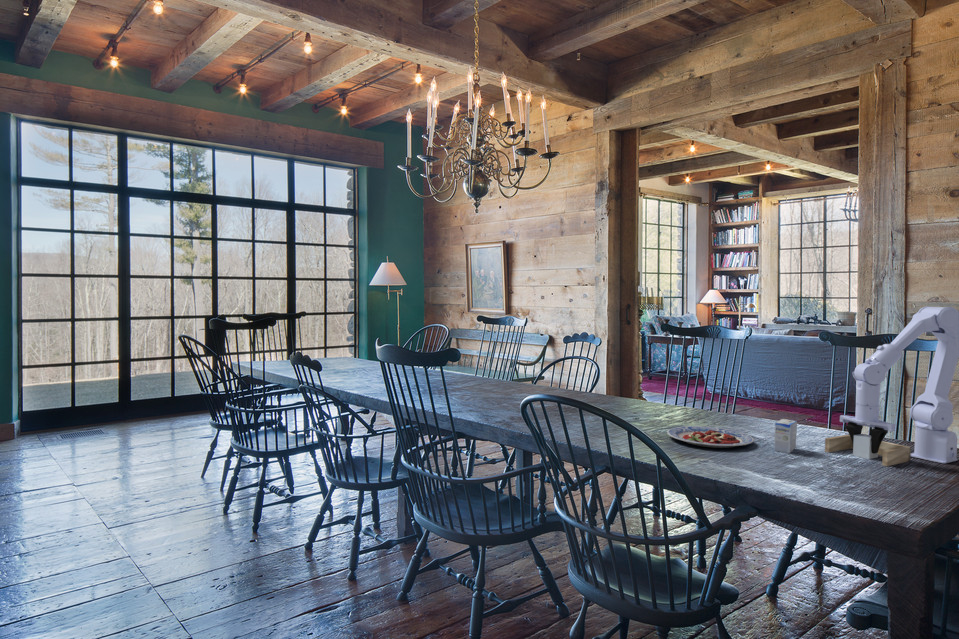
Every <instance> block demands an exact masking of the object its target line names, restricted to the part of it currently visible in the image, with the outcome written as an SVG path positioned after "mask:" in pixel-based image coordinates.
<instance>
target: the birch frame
mask: <svg viewBox="0 0 959 639" xmlns="http://www.w3.org/2000/svg"><path fill="white" fill-rule="evenodd" d="M849 449H851V450H853V444H852V440H851V437H850V435H849V433H848V434H845V435H837V436H831V437H826V438H824V452H826V453H834V452H837V451H844V450H849ZM911 451H912V447H911V446H909V445H907V446H906V445H903V444H898V443H892V442H888V441H885V440H884V441H883V440H882V442H881V444H880V447H879V450H878V456H882V458H881V459H882V460H881V461H882V463H881V466H885V467H889V466H893V465H898V464H903V463H908V462H911Z"/></svg>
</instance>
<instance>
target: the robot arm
mask: <svg viewBox="0 0 959 639" xmlns="http://www.w3.org/2000/svg"><path fill="white" fill-rule="evenodd" d="M911 318H912V319H911V320H910V321H909V323H908V324H907V325H906V326H905V327H904V328H903V329H902V330H901V332H899V334H898V335H897V336H896V337H895V338H894V339H893V340H892V341H891V342H890V343H884V344H882V345H878V346H877V347H876V351H875V352H874V353H873V354H871V356H870V357H868V358H866V359H865V362H863V363H859V364H857V365H856V367H855V369H854V371H852V377H853V378H854V380H855V382H856V384H855V385H856V393H855V414H854V415H855V416H853V415H852V416H851V415H848V414H847V415H846V414H841V415H839V422H840V423H847V424H845V429H846V430H847V433H848V434H849V435H850V437H851V440H852V444H853V443H854V435H858V434H862V431H863V428H864V427H869V428H871V429H869V433H870V434H869V435H871V441H872V444H871V452H872V453H874V454H875V453H878V450H879V447H880V444H881V442H882V441H883V440H884V438H885V437H886V435H887V434H888V433H889V432H895V431H896V423H892V422H887V421H883V420H879V415H880V414H879V413H880V395H881V394H880V392H881V391H880V390H881V387H880V386H881V383H883V382H885V379H886V378H887V376H886V375H887V373H888V371H889V370H890V369H891V368H892V367H893V366H894V365H896V363H898V361H900V359H902V356H903V354H902V351H903V350H905V348H907V347H908V346H910V344H912V343H913V342H914V341H915V340H916V339H918V338H919V337H920V336H921V335H922V334H923V333H932V335H933V336H934V337H935V339H937V345H936V348H935V352H934V356H933V360H932V363H931V367H930V371H929V375H928V379H927V381H926V386H925V389H924V392H923V393H922V394H920V395H919V396H918V397H917V398H916V400H915V402H914V404H913V405H912V406H911V407H910V411H909V413H910V414H909V415H910V417H911V420H913V421H914V425H915V427H914V428H915V429H914V430H915V433H914V452H912V453H911V456H910V458H911V457H912V458H917V459H922V460H926V461H930V462H935V463H939V464H948V463H952V462H956V461H958V460H959V459H958V458H957V457H958V454H957V453H958V436H957V433H956V432H954V431H952V430H951V431H950V430H949V429H948V428H949V427H951V425H952V423H953V422H954V415H953V409H954V405H953V403H952V402H951V400H950V399H949V393H950V390H951V387H952V383H953V379H954V375H955V372H956V368H957V364H958V361H959V311H958V309H957V308H955V307H953V306H942V307H941V306H931V305H930V306H928V305H927V306H923V307H921V308H919V310H918V312H916V313H914V314H913V315H912V317H911Z"/></svg>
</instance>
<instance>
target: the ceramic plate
mask: <svg viewBox="0 0 959 639" xmlns="http://www.w3.org/2000/svg"><path fill="white" fill-rule="evenodd" d="M666 433H667V435H668V436H670V437H671V438H673V439H676V440H679V441H683V442H685V443H687V444H689V445H694V446H698V447H704V448H705V447H706V448H714V449H716V448H717V449H718V448H719V449H725V448H726V449H727V448H736V447H739V446H746V445H750V444H752V443H753V442H754V441H755V438H753V437H752V436H751V435H748V433H747V434H746V433H744V432H740V431H738V430H733V429H728V428H720V427H711V426H698V425H697V426H695V425H693V426H692V425H691V426H678V427H673V428H669V429H668V430H667V432H666Z"/></svg>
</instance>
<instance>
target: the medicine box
mask: <svg viewBox="0 0 959 639" xmlns="http://www.w3.org/2000/svg"><path fill="white" fill-rule="evenodd" d="M774 424H775V425H774V444H773V445H774V447H773V450H774V452H778V451H779V453H785V454H790V453H792V451H794V450H795V449H796V447H797V428H798V422H797V420H792V419H786V418H781V419H779V420H778V421H776V422H775V423H774Z"/></svg>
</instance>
